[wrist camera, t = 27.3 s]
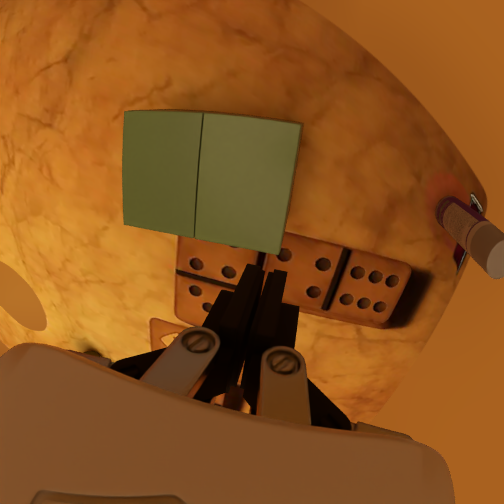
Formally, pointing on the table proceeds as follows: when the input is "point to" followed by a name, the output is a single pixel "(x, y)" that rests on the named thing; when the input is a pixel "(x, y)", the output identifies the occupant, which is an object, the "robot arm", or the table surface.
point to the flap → (245, 181)
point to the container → (473, 234)
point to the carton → (167, 168)
